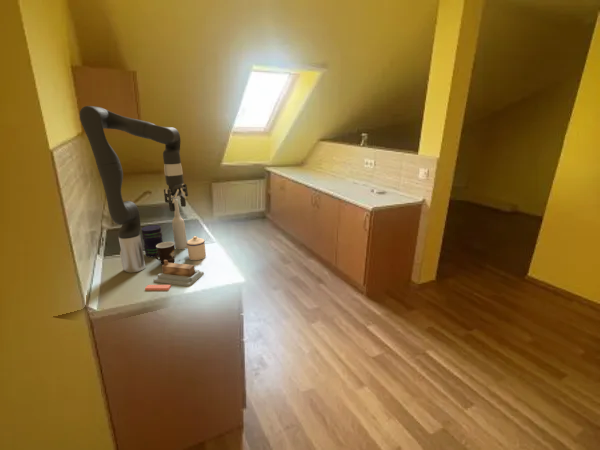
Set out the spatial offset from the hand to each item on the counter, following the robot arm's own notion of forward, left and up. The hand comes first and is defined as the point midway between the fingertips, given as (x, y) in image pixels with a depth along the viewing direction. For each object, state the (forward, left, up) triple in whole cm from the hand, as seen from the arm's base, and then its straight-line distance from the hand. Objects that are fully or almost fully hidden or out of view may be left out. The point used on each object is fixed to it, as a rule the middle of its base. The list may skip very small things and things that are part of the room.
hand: (178, 208), depth 151 cm
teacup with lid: (-3, +14, -30) cm, 34 cm away
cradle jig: (+3, -10, -30) cm, 32 cm away
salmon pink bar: (0, -21, -31) cm, 37 cm away
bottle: (-18, +24, -30) cm, 43 cm away
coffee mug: (-13, +2, -30) cm, 33 cm away
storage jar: (-27, +13, -30) cm, 43 cm away
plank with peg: (+3, -10, -29) cm, 31 cm away
